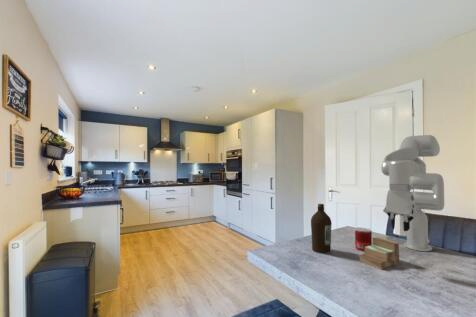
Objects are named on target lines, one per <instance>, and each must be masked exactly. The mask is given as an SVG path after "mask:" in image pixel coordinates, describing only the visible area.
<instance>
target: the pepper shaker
mask: <svg viewBox="0 0 476 317" xmlns="http://www.w3.org/2000/svg"><path fill="white" fill-rule="evenodd" d="M403 222H405V219H404V215H403V214H396V215H395V227H394V229H393V232H392V233H393V234H394V235H396V236H401V237H407V236H408V231H404V224H403Z"/></svg>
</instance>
